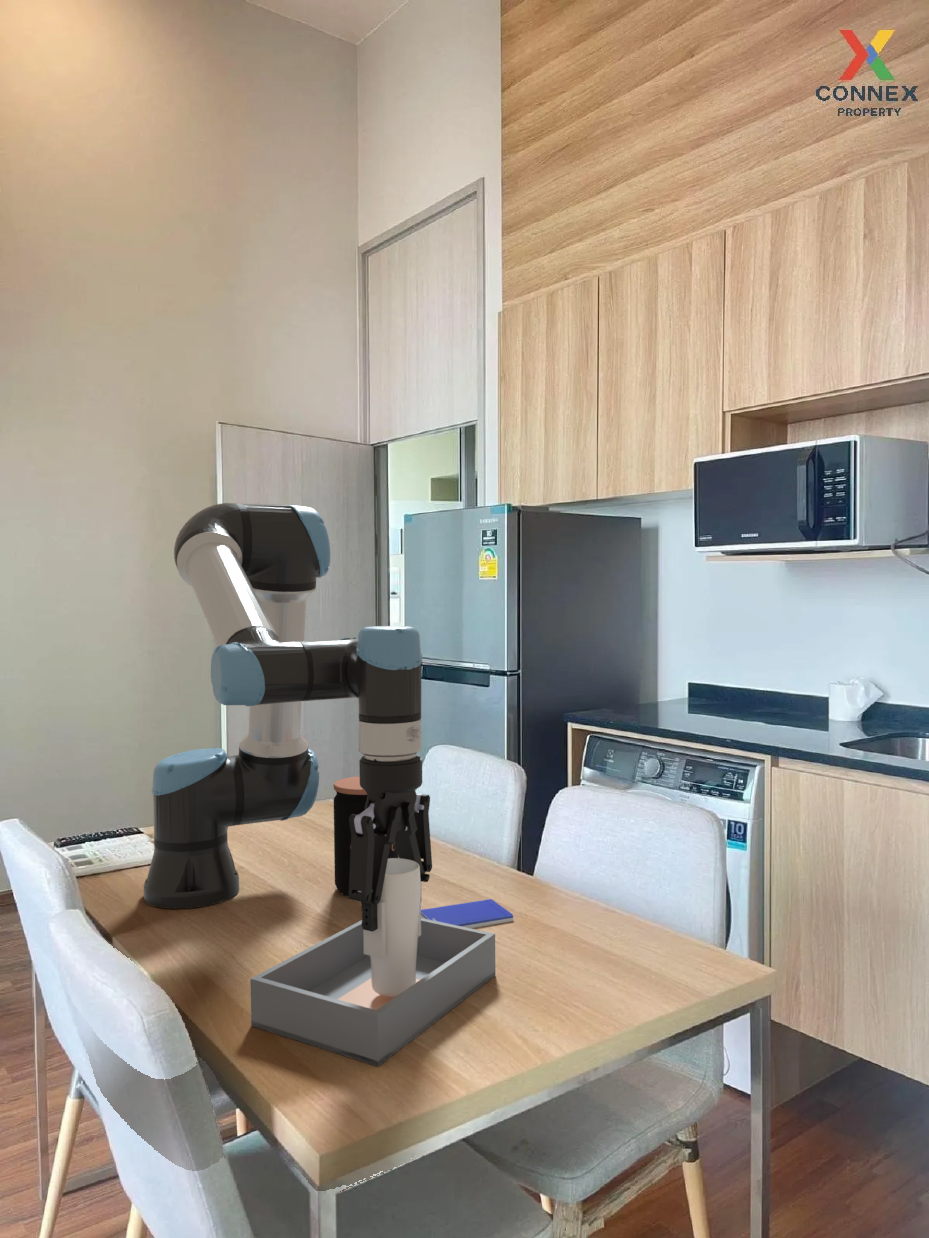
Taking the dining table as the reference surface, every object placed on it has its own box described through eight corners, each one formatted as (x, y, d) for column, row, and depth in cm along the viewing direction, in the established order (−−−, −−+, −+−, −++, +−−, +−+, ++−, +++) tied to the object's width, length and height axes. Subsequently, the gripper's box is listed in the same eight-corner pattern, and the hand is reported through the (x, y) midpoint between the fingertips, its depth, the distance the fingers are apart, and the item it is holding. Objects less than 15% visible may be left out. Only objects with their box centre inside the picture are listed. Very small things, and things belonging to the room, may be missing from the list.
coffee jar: (347, 904, 144) (346, 792, 143) (326, 884, 153) (324, 779, 153) (409, 893, 149) (408, 784, 148) (384, 875, 158) (383, 773, 158)
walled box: (251, 1025, 104) (250, 978, 104) (382, 948, 126) (381, 909, 126) (378, 1066, 95) (377, 1014, 94) (495, 975, 117) (495, 933, 116)
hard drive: (437, 927, 131) (513, 914, 136) (417, 908, 138) (490, 897, 143) (437, 937, 131) (513, 924, 136) (417, 919, 138) (490, 907, 143)
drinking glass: (366, 977, 112) (364, 858, 112) (420, 975, 113) (419, 856, 112) (365, 1002, 105) (363, 875, 105) (422, 1000, 106) (421, 873, 106)
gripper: (366, 772, 98) (369, 981, 99) (459, 744, 115) (461, 923, 115) (313, 766, 102) (316, 967, 102) (410, 740, 119) (412, 913, 119)
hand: (393, 943), depth 109 cm, fingers closed on drinking glass, 7 cm apart
